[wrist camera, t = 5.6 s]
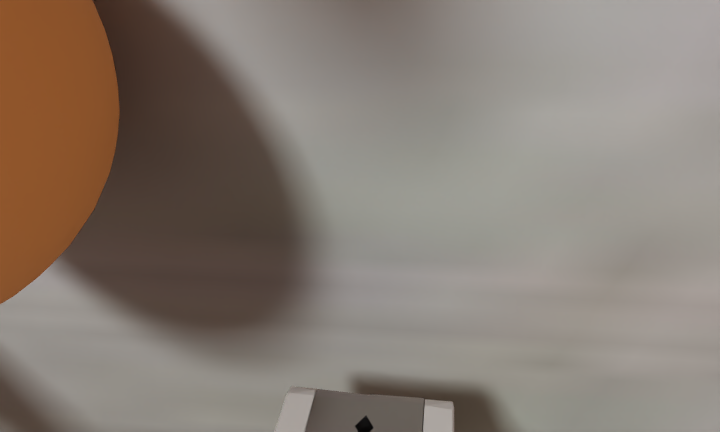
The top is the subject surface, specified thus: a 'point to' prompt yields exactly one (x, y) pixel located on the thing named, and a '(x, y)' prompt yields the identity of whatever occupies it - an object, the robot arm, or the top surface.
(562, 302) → the top surface
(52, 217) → the ball
